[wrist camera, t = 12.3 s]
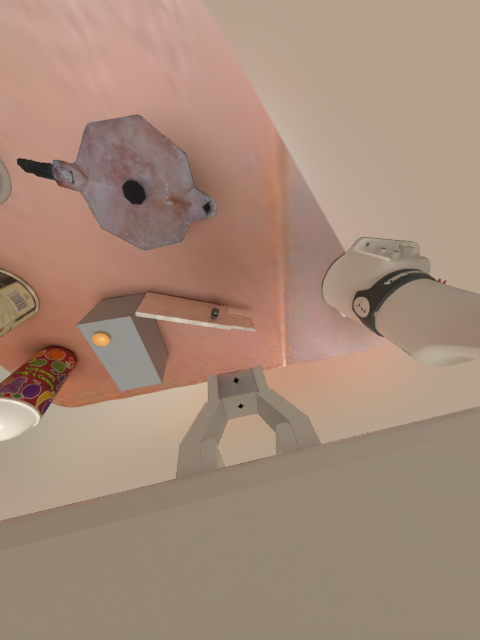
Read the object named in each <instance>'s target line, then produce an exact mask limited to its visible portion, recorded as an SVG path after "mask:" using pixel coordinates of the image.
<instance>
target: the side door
mask: <svg viewBox="0 0 480 640" xmlns="http://www.w3.org/2000/svg"><path fill="white" fill-rule="evenodd" d="M136 316H139V317H146V318H153V319H159V320H166V321H173V322H180V323H187V324H194V325H201V326H208V327H214V328H221V329H228V330H231V328H234V329H241V330H248V331H256V327H255V325H254V323H253V320H252V318H251V317H247V316H241V315H235V314H229V312H228V308H227V306H223V305H217V304H212V303H206V302H201V301H195V300H190V299H184V298H179V297H173V296H168V295H162V294H157V293H151V292H147V294H146V295H145V297H144V299H143V300H142V302H141V304H140V305H139V307H138V309H137V310H136Z"/></svg>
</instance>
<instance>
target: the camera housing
mask: <svg viewBox="0 0 480 640" xmlns="http://www.w3.org/2000/svg"><path fill="white" fill-rule="evenodd" d="M144 297H145V293H143V294H136V295H129V296H123V297H116V298H110V299H103V300H101V301H100V302H99V303H98V304H97V305H96V306H95V307H94V308H93V309H92V310H91V311H90V312H89V313H88V314H87V315H86V316H85V317H84V318H83V319H82V320H81V321H80V322H79V323H78V324H77V327H78V328H79V330H80V331H81V333H82V334H83V336H84V337H85V339H86V340H87V342H88V343H89V344H90V346H91V347H92V349H93V350H94V352H95V353H96V355H97V356H98V358H99V359H100V361H101V362H102V364H103V365H104V367H105V368H106V370H107V371H108V373H109V374H110V376H111V377H112V379H113V380H114V382H115V383H116V385H117V386H118V387H119V389H120V390H121V391H124V390H129V389H134V388H140V387H145V386H150V385H155V384H160V383H162V381H163V376H164V371H165V367H166V362H167V358H168V351H167V349H166V346H165V344H164V341H163V339H162V336H161V334H160V331H159V329H158V326H157V324H156V321H155V319H153V318H146V317H139V316H136V310H137V309H138V307H139V305H140V304H141V302H142V300H143V299H144Z"/></svg>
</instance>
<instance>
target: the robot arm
mask: <svg viewBox="0 0 480 640" xmlns="http://www.w3.org/2000/svg"><path fill="white" fill-rule="evenodd" d="M366 243H367V245H366ZM419 255H420V247H419V244H418V243H416V242H411V241H400V240H390V239H380V238H368V237H360V238H359V239H357V240H356V242H355V243H354V244H353V245H352V247H351V248H350V250H349V251H348V252H346V253H345V254H344V255H343V256H341V257H340V258H339V259H338V260H337V261H336V262H335V263H334V264H333V265H332V266H331V268H330V269H329V271H328V272H327V274H326V276H325V279H324V282H323V288H322V292H323V297H324V300H325V301H326V303H327V304H328V305H330V306H331V307H333V308H335V309H337V311H338V313H339V314H340V315H341V316H343V317H349V318H351V319H352V320H354V321H356V322H357V323H359V324H361V325H362V326H364V327H367V328H369V330H370V331H372V332H374V333H376V334H377V335H379V336H382V337H385V338H387V339H388V340H389V341H391V342H392V343H393V344H395V345H396V346H397V347H399V348H400V349H401V350H403V351H404V352H406V353H407V354H408V355H410V356H411V357H413V358H414V359H415V360H417V361H419V362H422V363H425V364H430V365H436V366H449V365H456V364H460V363H464V362H468V361H471V360H474V359H476V360H480V294H477V293H474V292H470V291H466V290H462V289H459V288H455V287H452V286H449V285H446V284H445V283H446V281H444V282H443V283H441V279H439V280H438V281H436V280H435V279H434V278H433V277H431V276H430V275H429V272H430V262H429V260H428V258H425V257H422V256H419ZM257 413H258V414H259V415H260V416H261V417H262V419H263V420H264V421H265V422H266V423H267V424H268V425H269V426H270V427H271V428H272V429H273V430H274V432H275V433H276V454H277V455H274V456H270V457H265V458H261V459H257V460H253V461H249V462H245V463H240V464H236V465H232V466H228V467H224V463H223V460H222V457H221V454H220V452H219V449H218V444H219V441H220V439H221V436H222V434H223V431H224V429H225V426H226V424H227V420H230V419H233V418H238V417H242V416H247V415H252V414H257ZM0 640H480V406H479V407H475V408H471V409H467V410H462V411H459V412H454V413H450V414H445V415H442V416H437V417H433V418H429V419H425V420H421V421H416V422H412V423H408V424H404V425H399V426H395V427H391V428H387V429H383V430H379V431H374V432H371V433H366V434H362V435H358V436H354V437H350V438H346V439H341V440H337V441H333V442H328V443H324V444H321V442H320V440H319V438H318V436H317V434H316V432H315V430H314V428H313V426H312V424H311V422H310V420H309V418H308V416H307V415H305V414H304V413H303V412H301V411H300V410H299V409H298V408H296V407H295V406H294V405H292V404H291V403H290V402H288V401H287V400H286V399H285V398H283V397H282V396H281V395H279V394H278V393H277V392H275V391H274V390H273V389H269V387H268V385H267V382H266V379H265V376H264V373H263V370H262V367H261V366H256V367H252V368H247V369H242V370H237V371H233V372H228V373H222V374H217V375H212V376H208V402H207V403H205V404H204V406H203V408H202V409H201V411H200V413H199V414H198V416H197V417H196V419H195V421H194V422H193V424H192V425H191V427H190V429H189V430H188V432H187V434H186V435H185V437H184V438H183V440H182V442H181V443H180V445H179V454H178V464H177V473H176V479H173V480H169V481H165V482H161V483H157V484H152V485H148V486H145V487H140V488H136V489H132V490H127V491H123V492H119V493H115V494H111V495H106V496H102V497H98V498H94V499H89V500H85V501H81V502H77V503H73V504H69V505H64V506H61V507H56V508H52V509H48V510H44V511H39V512H35V513H31V514H27V515H23V516H18V517H14V518H10V519H6V520H1V521H0Z"/></svg>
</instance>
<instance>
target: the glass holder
mask: <svg viewBox="0 0 480 640" xmlns="http://www.w3.org/2000/svg"><path fill="white" fill-rule="evenodd" d="M11 188H12V187H11V180H10V176H9V173H8V171H7V169H6V167H5V165H4V163H3V162H2V160H1V159H0V204H2V203H4V202H5V201H6V200H7V199H8V198H9V196H10V194H11Z"/></svg>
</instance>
